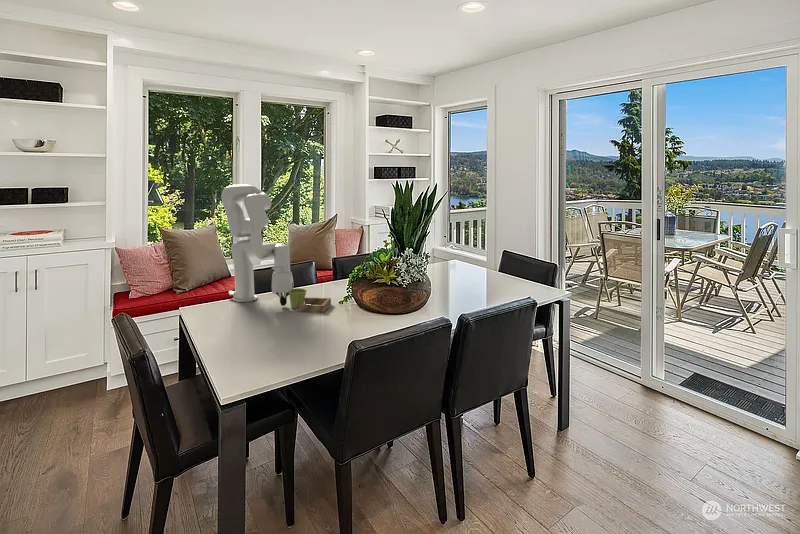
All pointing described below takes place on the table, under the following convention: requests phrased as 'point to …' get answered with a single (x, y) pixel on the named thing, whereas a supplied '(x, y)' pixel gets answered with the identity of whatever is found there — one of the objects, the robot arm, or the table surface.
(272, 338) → the table surface
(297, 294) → the plant pot
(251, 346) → the table surface
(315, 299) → the walnut collar
